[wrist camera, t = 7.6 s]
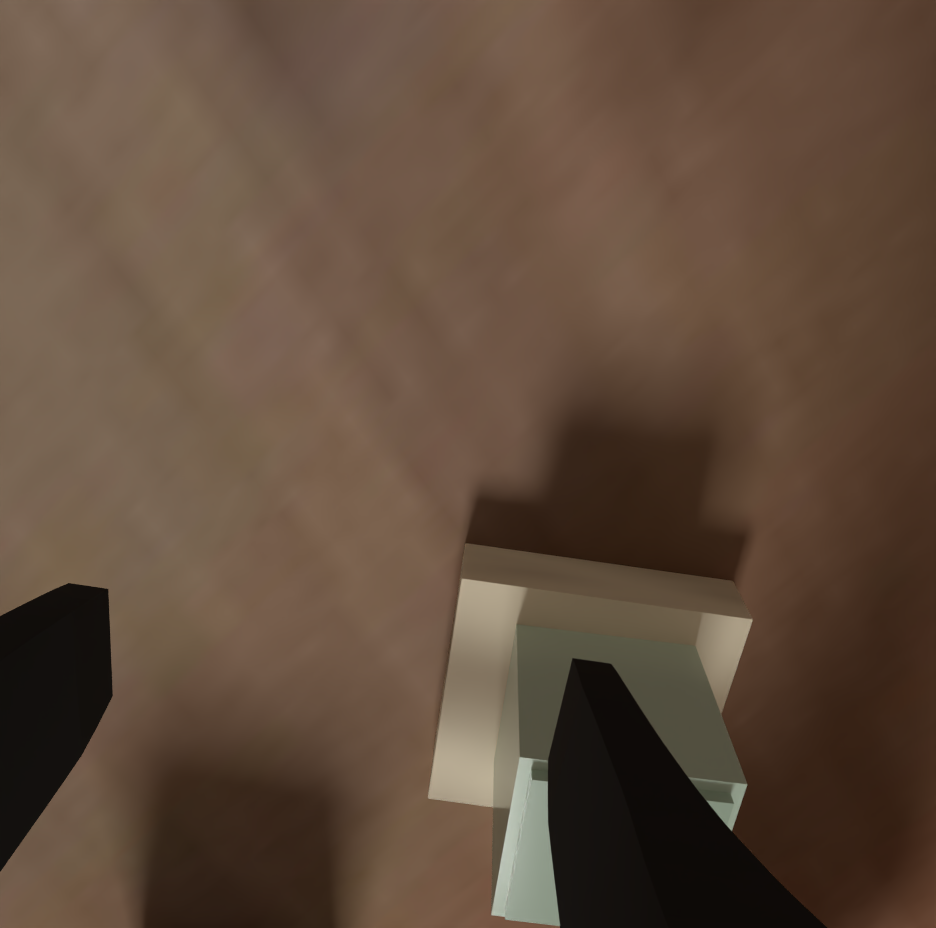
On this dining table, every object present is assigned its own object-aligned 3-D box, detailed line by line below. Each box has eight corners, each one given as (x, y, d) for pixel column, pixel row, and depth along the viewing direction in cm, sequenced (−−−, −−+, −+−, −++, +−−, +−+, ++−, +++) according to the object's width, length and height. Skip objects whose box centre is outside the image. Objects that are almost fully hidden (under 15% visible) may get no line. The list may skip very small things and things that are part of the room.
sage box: (657, 781, 23) (698, 951, 19) (493, 762, 23) (490, 926, 19) (695, 645, 21) (751, 794, 17) (516, 624, 21) (519, 767, 17)
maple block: (666, 772, 26) (681, 833, 24) (434, 740, 26) (427, 798, 24) (728, 572, 23) (752, 619, 21) (466, 534, 23) (461, 578, 21)
